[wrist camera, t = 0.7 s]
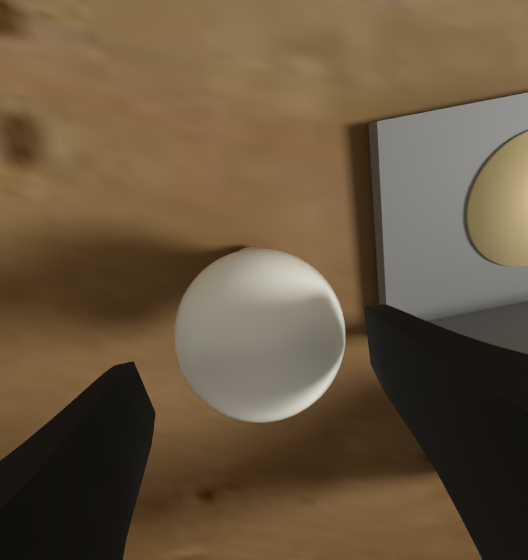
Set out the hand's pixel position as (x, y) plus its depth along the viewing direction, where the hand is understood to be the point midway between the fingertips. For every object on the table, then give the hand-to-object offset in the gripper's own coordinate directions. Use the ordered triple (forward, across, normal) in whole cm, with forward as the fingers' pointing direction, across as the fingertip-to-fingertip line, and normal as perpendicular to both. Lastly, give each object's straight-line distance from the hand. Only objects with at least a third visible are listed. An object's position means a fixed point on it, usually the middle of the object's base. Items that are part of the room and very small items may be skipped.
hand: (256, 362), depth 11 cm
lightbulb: (+11, 0, 0) cm, 11 cm away
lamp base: (+10, -15, +1) cm, 18 cm away
